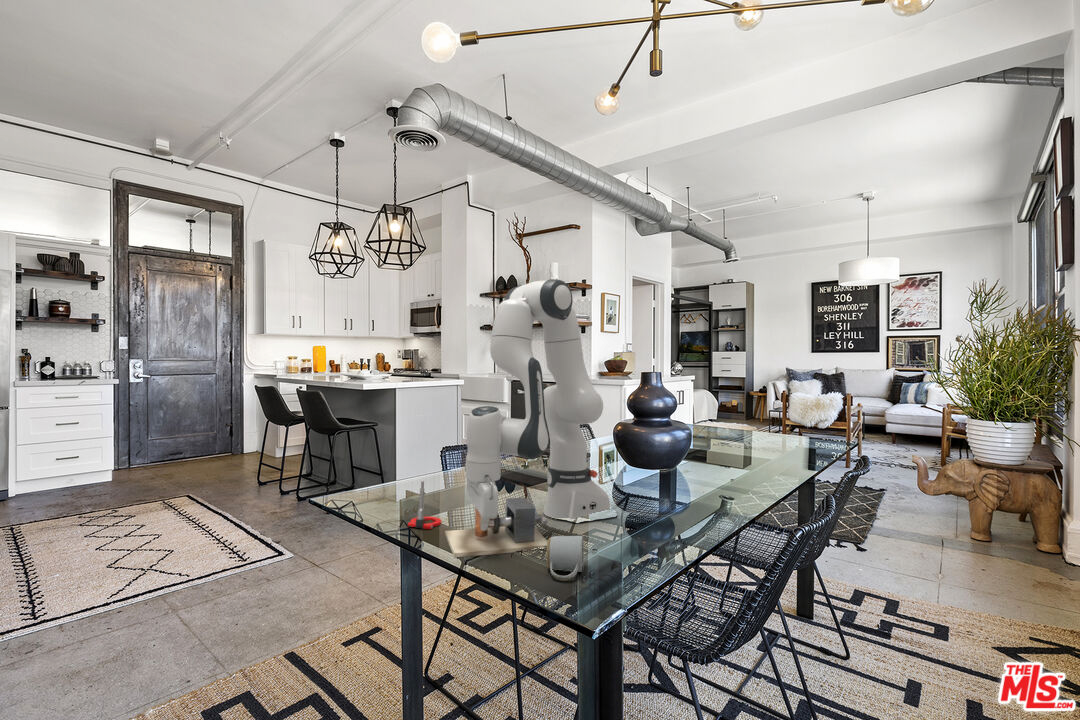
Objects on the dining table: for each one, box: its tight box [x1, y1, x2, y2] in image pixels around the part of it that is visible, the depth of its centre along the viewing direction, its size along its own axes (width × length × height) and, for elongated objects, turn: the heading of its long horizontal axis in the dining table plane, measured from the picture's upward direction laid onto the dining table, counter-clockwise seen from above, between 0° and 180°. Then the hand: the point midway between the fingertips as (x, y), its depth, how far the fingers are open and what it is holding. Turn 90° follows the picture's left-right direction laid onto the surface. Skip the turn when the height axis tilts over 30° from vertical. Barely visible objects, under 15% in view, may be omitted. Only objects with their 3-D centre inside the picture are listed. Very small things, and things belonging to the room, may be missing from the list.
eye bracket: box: [504, 497, 536, 543], centre depth 137 cm, size 5×10×8 cm, turn 18°
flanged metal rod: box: [474, 509, 548, 537], centre depth 136 cm, size 19×6×7 cm, turn 108°
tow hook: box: [407, 480, 442, 531], centre depth 148 cm, size 8×13×9 cm
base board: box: [444, 526, 548, 559], centre depth 135 cm, size 24×16×1 cm, turn 108°
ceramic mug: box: [545, 535, 585, 578], centre depth 117 cm, size 11×8×8 cm
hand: (481, 525), depth 134 cm, fingers open, 4 cm apart
